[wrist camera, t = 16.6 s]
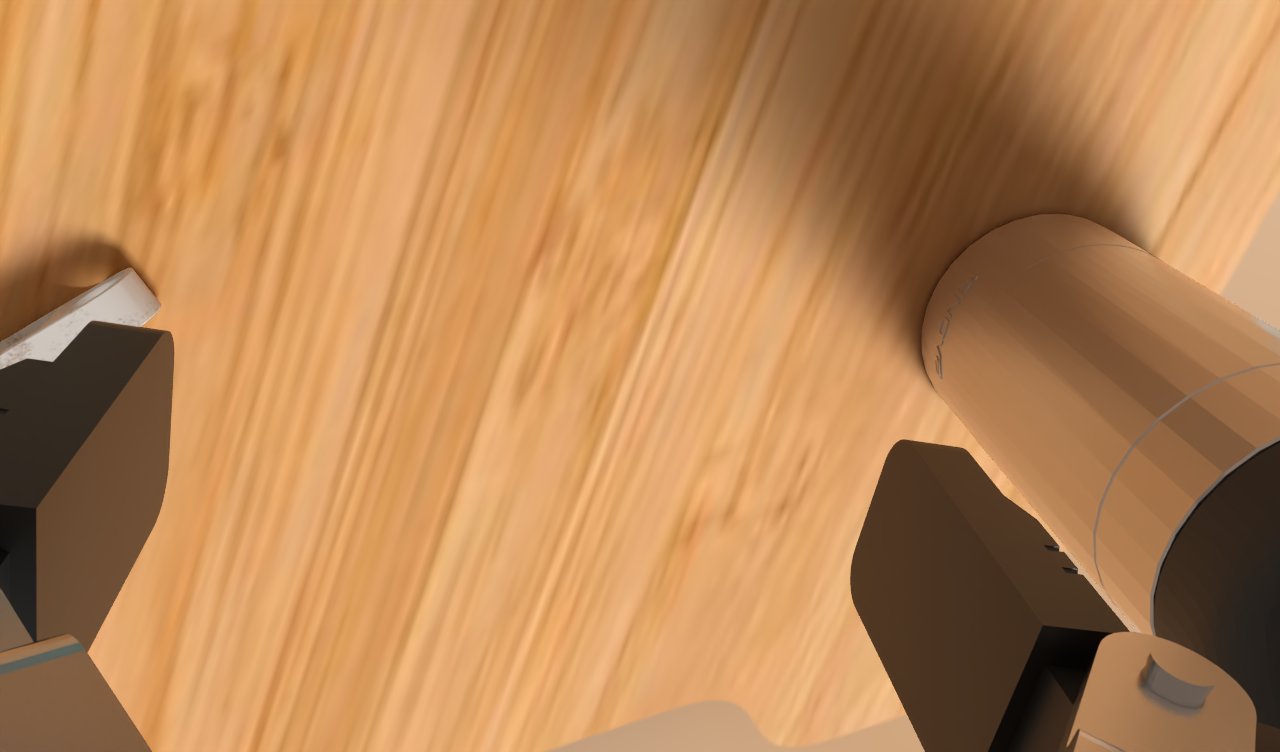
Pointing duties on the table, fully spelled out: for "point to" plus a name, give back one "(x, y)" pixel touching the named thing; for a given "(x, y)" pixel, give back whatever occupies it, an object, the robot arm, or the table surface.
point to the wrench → (82, 318)
